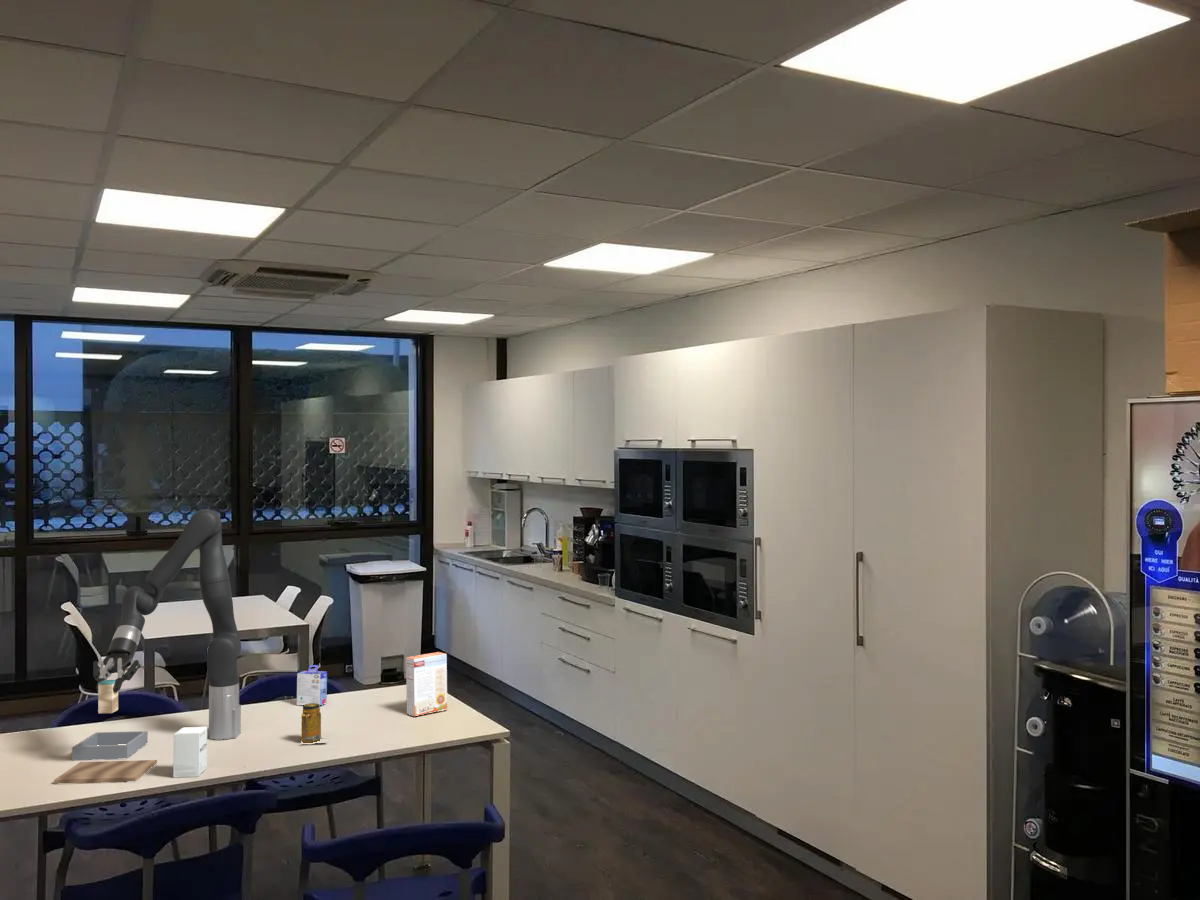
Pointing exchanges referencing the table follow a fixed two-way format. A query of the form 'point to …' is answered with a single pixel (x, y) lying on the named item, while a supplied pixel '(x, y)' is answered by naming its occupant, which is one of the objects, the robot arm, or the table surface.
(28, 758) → the table surface
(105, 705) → the beech block
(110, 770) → the walnut board
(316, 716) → the condiment
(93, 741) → the parts bin
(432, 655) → the cracker box
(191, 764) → the supplement box
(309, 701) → the ink cartridge box
